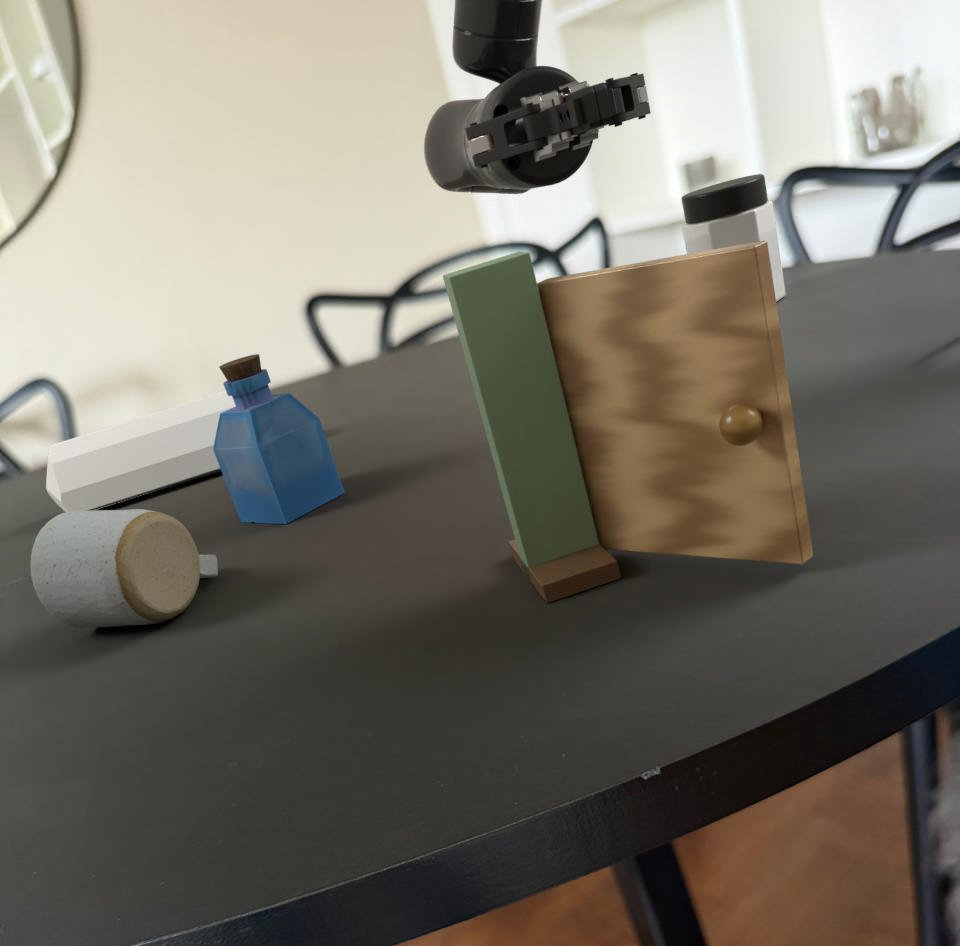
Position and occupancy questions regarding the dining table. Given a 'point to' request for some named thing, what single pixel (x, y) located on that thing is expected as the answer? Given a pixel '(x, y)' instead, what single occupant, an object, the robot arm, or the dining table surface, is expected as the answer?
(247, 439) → the perfume bottle
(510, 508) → the door wall
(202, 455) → the white beveled bar
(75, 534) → the ceramic mug
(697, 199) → the jar
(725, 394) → the door
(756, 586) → the dining table surface
